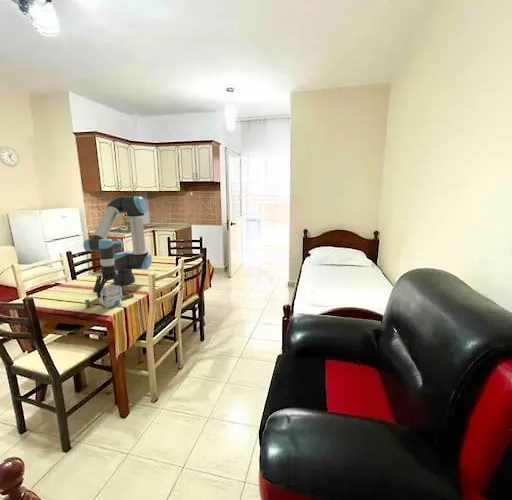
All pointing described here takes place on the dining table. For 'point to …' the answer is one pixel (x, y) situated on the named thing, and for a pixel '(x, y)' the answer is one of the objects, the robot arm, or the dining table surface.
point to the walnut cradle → (128, 295)
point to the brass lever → (91, 302)
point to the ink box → (110, 296)
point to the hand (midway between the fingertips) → (111, 299)
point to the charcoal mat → (113, 306)
